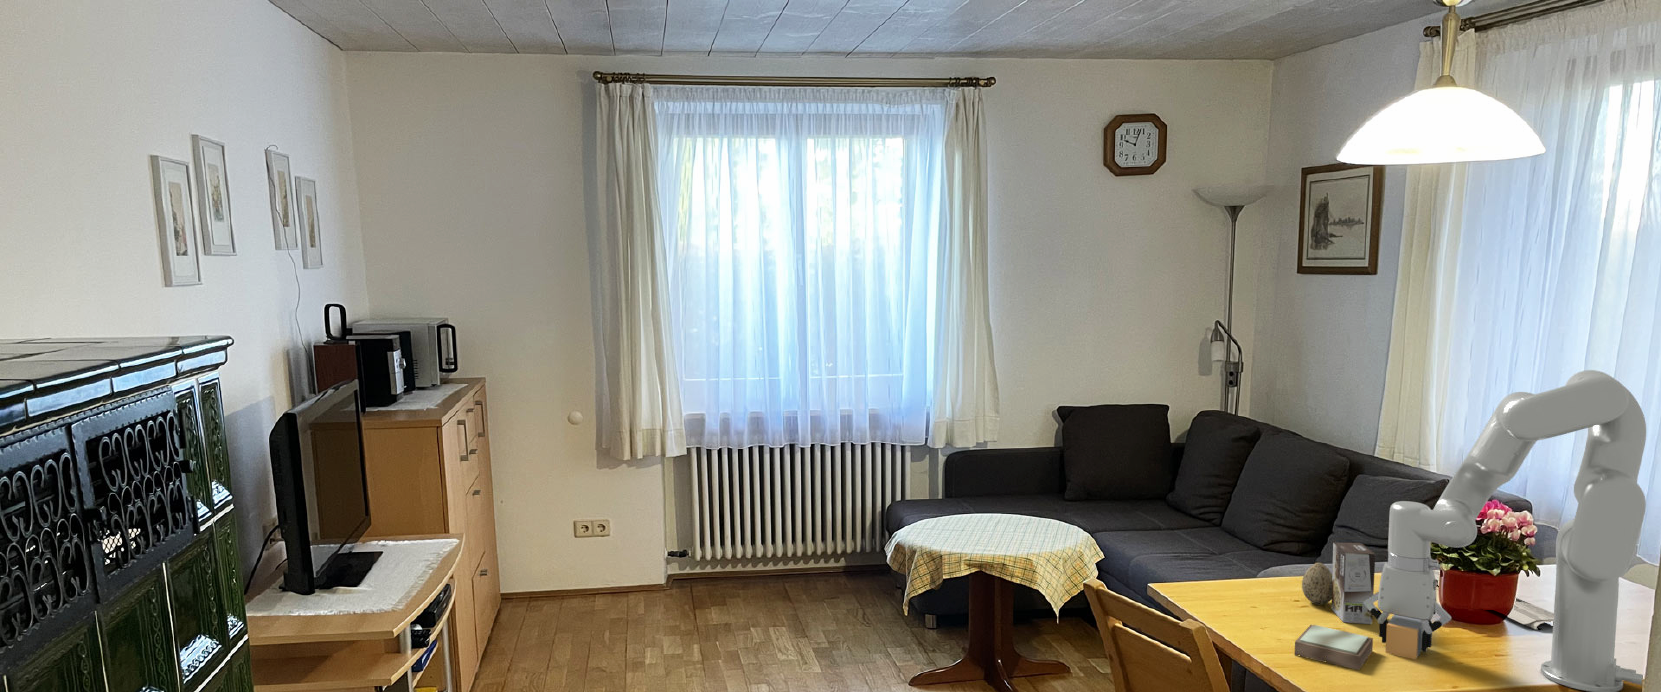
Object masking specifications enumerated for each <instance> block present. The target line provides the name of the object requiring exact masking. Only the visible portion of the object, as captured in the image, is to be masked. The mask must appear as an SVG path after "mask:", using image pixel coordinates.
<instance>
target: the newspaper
mask: <svg viewBox="0 0 1661 692" xmlns="http://www.w3.org/2000/svg"><path fill="white" fill-rule="evenodd" d="M1432 570H1433V571H1434V575H1435V581H1436V587H1438V586H1437V585H1438V581H1439V571H1438V570H1439V569H1435V570H1434V569H1432ZM1515 598H1516V601H1515V604H1514V609H1513V610H1512V612H1511V614H1509V615H1508V617H1507V618H1509V619H1510V620H1513V621H1515V622H1518V623H1520V624H1521V625H1525V626H1527V627H1529V628H1531V629H1533V630H1538V628H1539V627H1538V626H1540V625H1541V624H1545V622H1551V621H1553V620H1554V612H1551V611H1550V610H1549V611H1548V610H1547V609H1544V608H1541V607H1539V606H1537V605H1534V604H1532V603H1529V602H1527V601H1525V600H1522V599H1519V598H1518V597H1515ZM1537 627H1538V628H1537Z"/></svg>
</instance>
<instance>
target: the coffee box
mask: <svg viewBox="0 0 1661 692" xmlns="http://www.w3.org/2000/svg"><path fill="white" fill-rule="evenodd" d="M1332 547H1333V548H1332V572H1331V574H1332V600H1331V605H1330V606H1331V607H1330V609H1331V610H1332V611H1333V613H1335V615H1336V616H1337V617H1338V618H1339V620H1341V622H1343V623H1350V624H1364V625H1373V617H1374V616H1373V615H1372V614H1371V612H1370V610H1369V609H1368V608H1367V607H1366V606H1365V605H1364V603H1363V601H1364V600H1365V599H1367V598H1368V597H1370V596H1372V595H1374V594H1375V591H1374V589H1375V570H1376V553H1375V552H1374V551H1372V550H1371V549H1369V548H1368V547H1367V546H1366V545H1365V544H1364V543H1360V542H1333V544H1332Z"/></svg>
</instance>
